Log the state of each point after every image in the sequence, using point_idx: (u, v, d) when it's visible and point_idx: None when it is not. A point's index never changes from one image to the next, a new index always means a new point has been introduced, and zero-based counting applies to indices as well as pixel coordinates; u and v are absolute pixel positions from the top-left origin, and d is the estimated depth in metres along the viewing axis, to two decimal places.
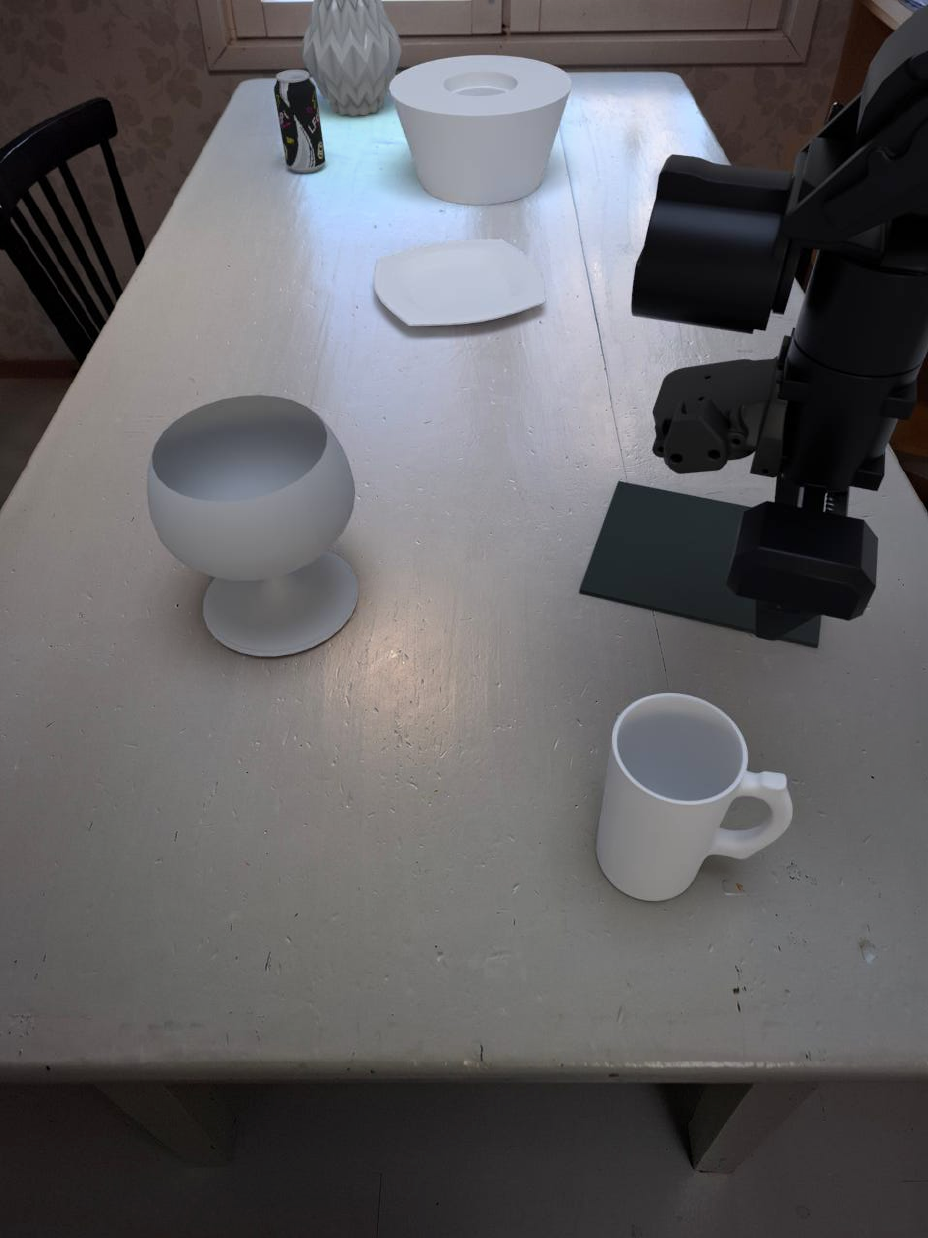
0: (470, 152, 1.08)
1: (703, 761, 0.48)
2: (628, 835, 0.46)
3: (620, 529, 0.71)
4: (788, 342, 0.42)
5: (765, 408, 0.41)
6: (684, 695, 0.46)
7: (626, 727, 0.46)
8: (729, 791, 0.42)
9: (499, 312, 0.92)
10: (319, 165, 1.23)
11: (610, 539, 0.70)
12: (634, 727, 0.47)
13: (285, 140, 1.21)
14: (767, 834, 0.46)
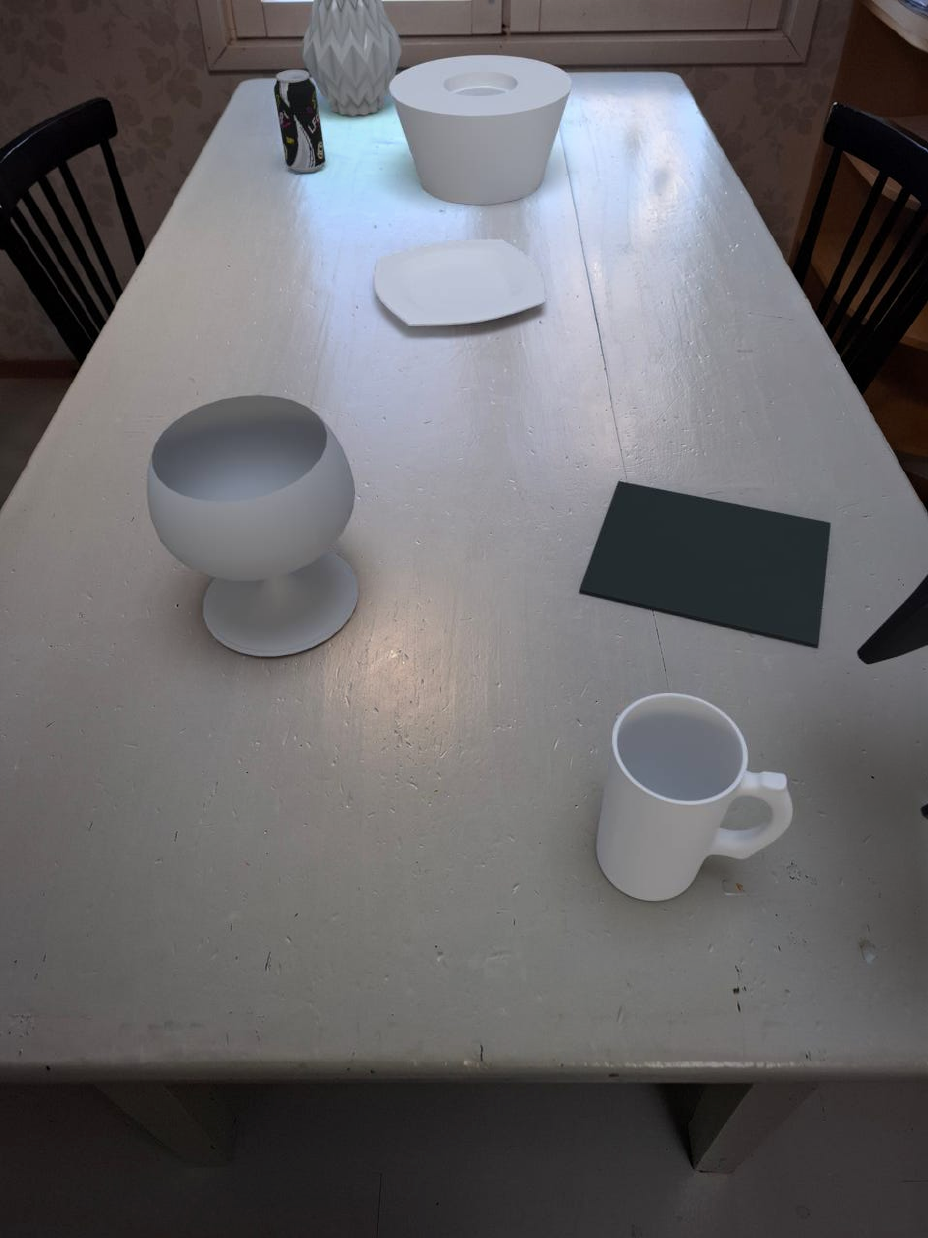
0: (470, 152, 1.08)
1: (703, 761, 0.48)
2: (628, 835, 0.46)
3: (620, 529, 0.71)
4: None
5: None
6: (684, 695, 0.46)
7: (626, 727, 0.46)
8: (729, 791, 0.42)
9: (499, 312, 0.92)
10: (319, 165, 1.23)
11: (610, 539, 0.70)
12: (634, 727, 0.47)
13: (285, 140, 1.21)
14: (767, 834, 0.46)
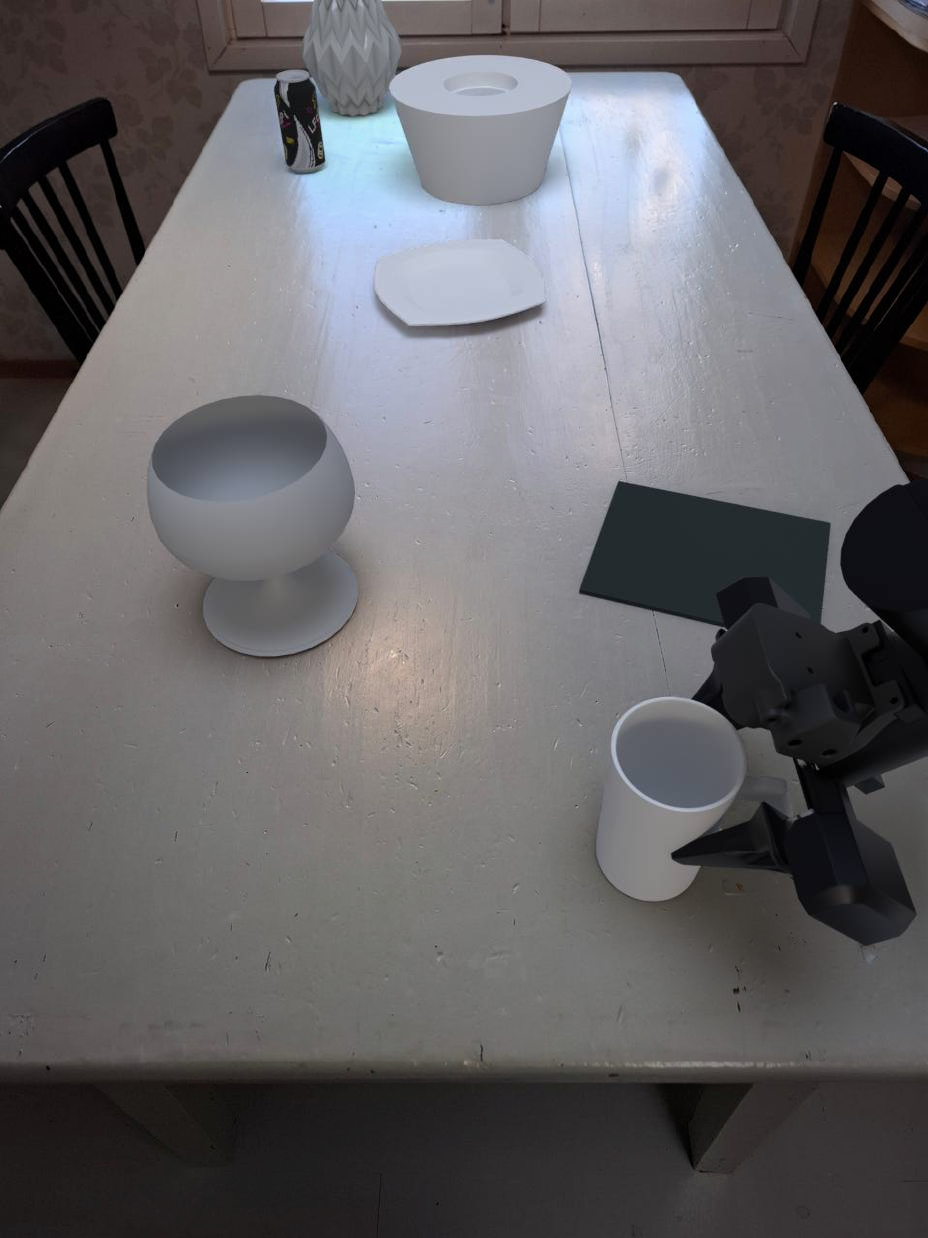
0: (470, 152, 1.08)
1: (703, 763, 0.48)
2: (627, 839, 0.46)
3: (620, 529, 0.71)
4: (879, 637, 0.39)
5: (868, 712, 0.37)
6: (684, 699, 0.45)
7: (625, 731, 0.46)
8: (729, 798, 0.41)
9: (499, 312, 0.92)
10: (319, 165, 1.23)
11: (610, 539, 0.70)
12: (633, 730, 0.46)
13: (285, 140, 1.21)
14: None
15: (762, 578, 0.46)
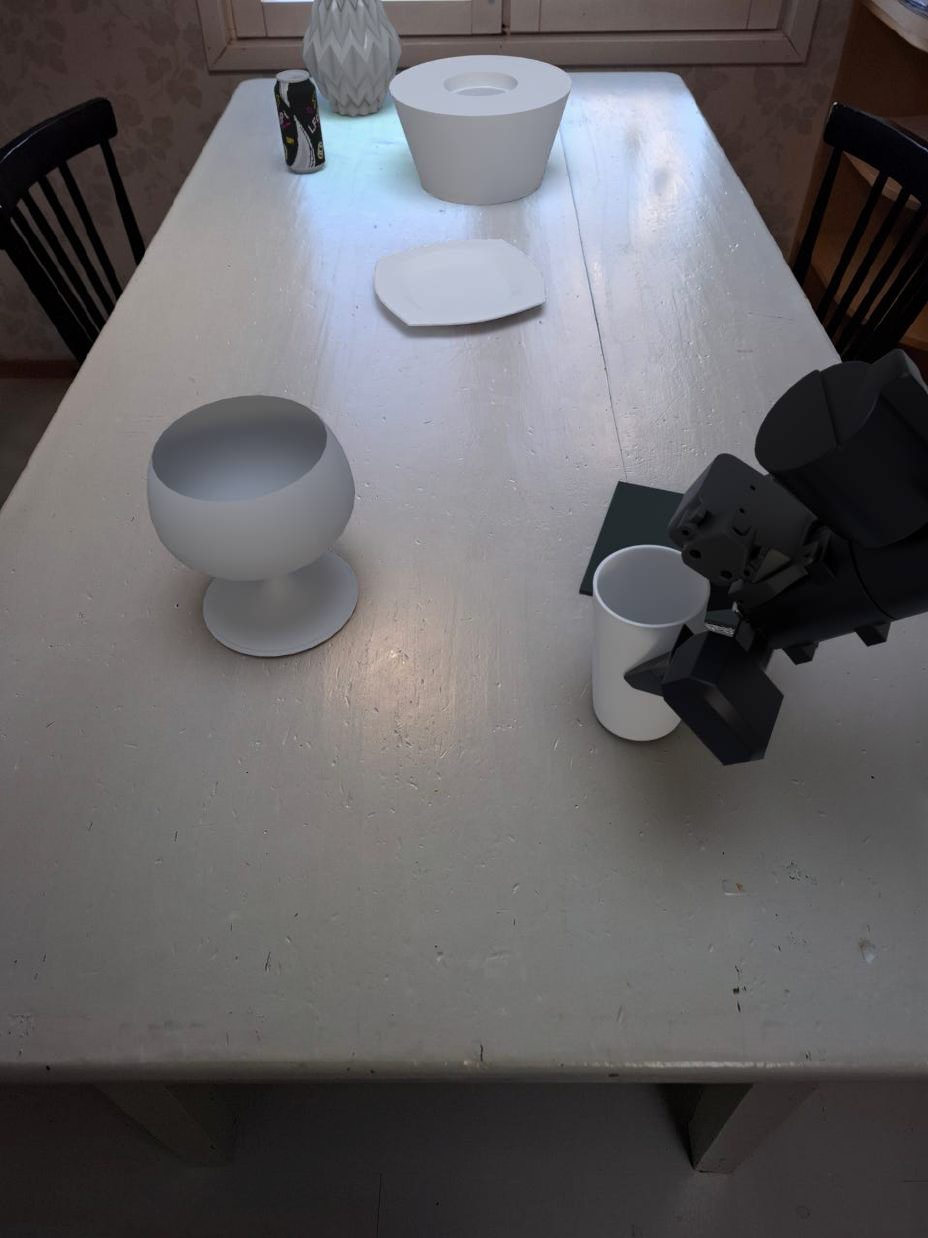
0: (470, 152, 1.08)
1: None
2: (597, 654, 0.53)
3: (620, 529, 0.71)
4: None
5: (785, 562, 0.42)
6: (680, 553, 0.52)
7: (625, 567, 0.53)
8: (669, 625, 0.48)
9: (499, 312, 0.92)
10: (319, 165, 1.23)
11: (610, 539, 0.70)
12: (636, 572, 0.54)
13: (285, 140, 1.21)
14: None
15: None
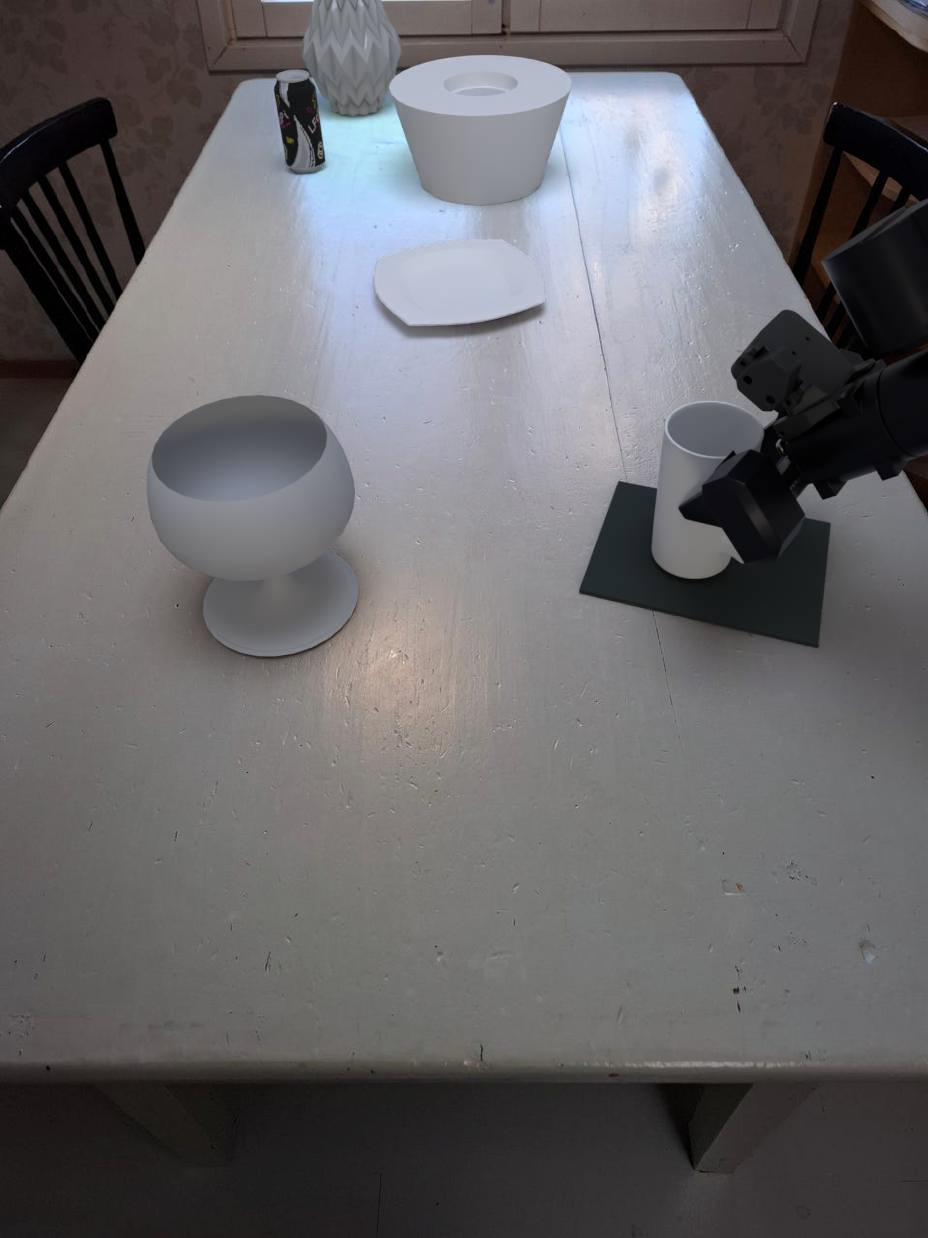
0: (470, 152, 1.08)
1: None
2: (660, 490, 0.63)
3: (620, 529, 0.71)
4: (871, 366, 0.52)
5: (822, 398, 0.51)
6: (745, 409, 0.61)
7: (696, 419, 0.63)
8: (722, 458, 0.57)
9: (499, 312, 0.92)
10: (319, 165, 1.23)
11: (610, 539, 0.70)
12: (705, 426, 0.63)
13: (285, 140, 1.21)
14: None
15: (854, 353, 0.59)
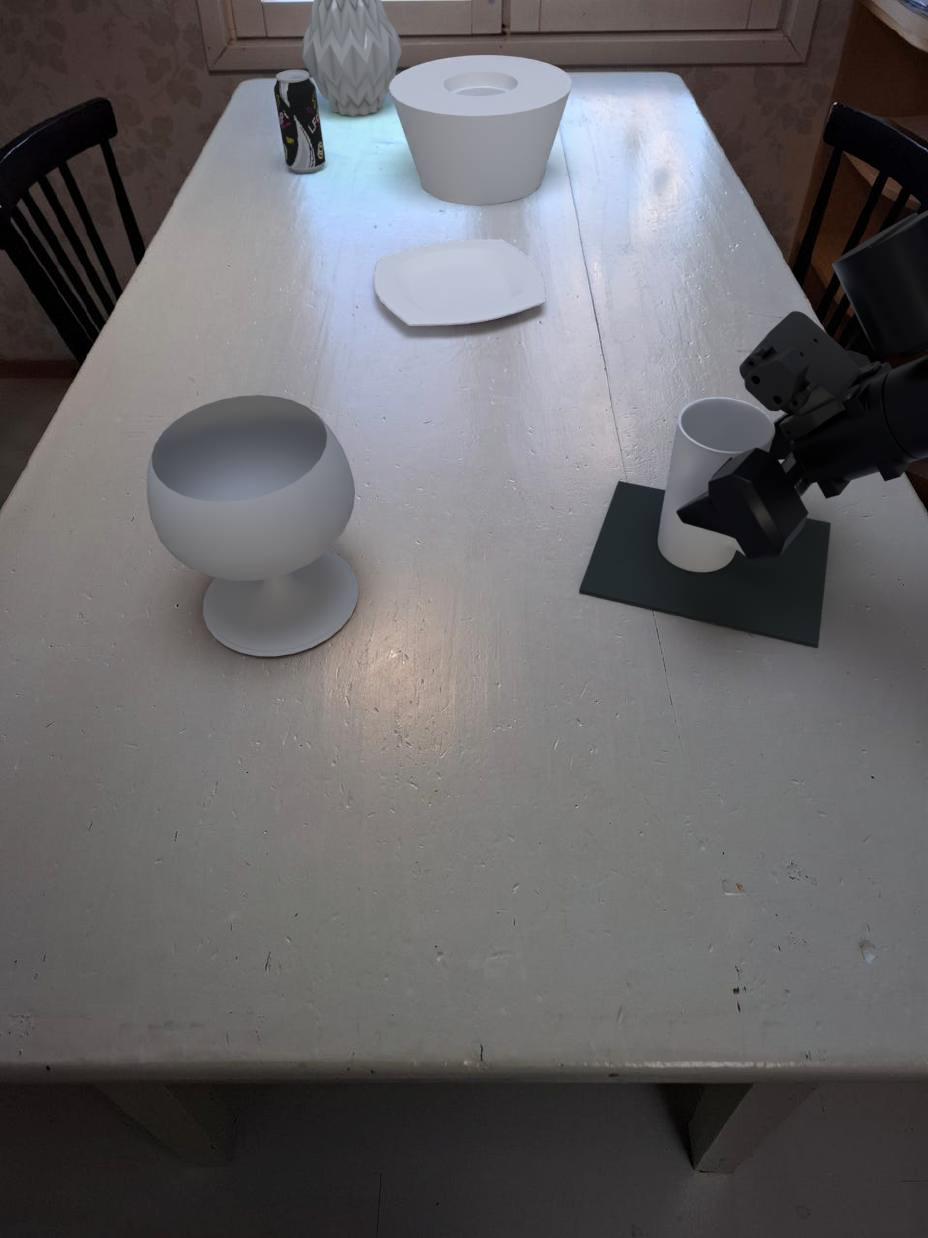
0: (470, 152, 1.08)
1: None
2: (670, 484, 0.64)
3: (620, 529, 0.71)
4: (877, 369, 0.53)
5: (828, 399, 0.52)
6: (756, 406, 0.62)
7: (707, 415, 0.64)
8: (735, 452, 0.59)
9: (499, 312, 0.92)
10: (319, 165, 1.23)
11: (610, 539, 0.70)
12: (715, 422, 0.64)
13: (285, 140, 1.21)
14: None
15: (861, 355, 0.60)
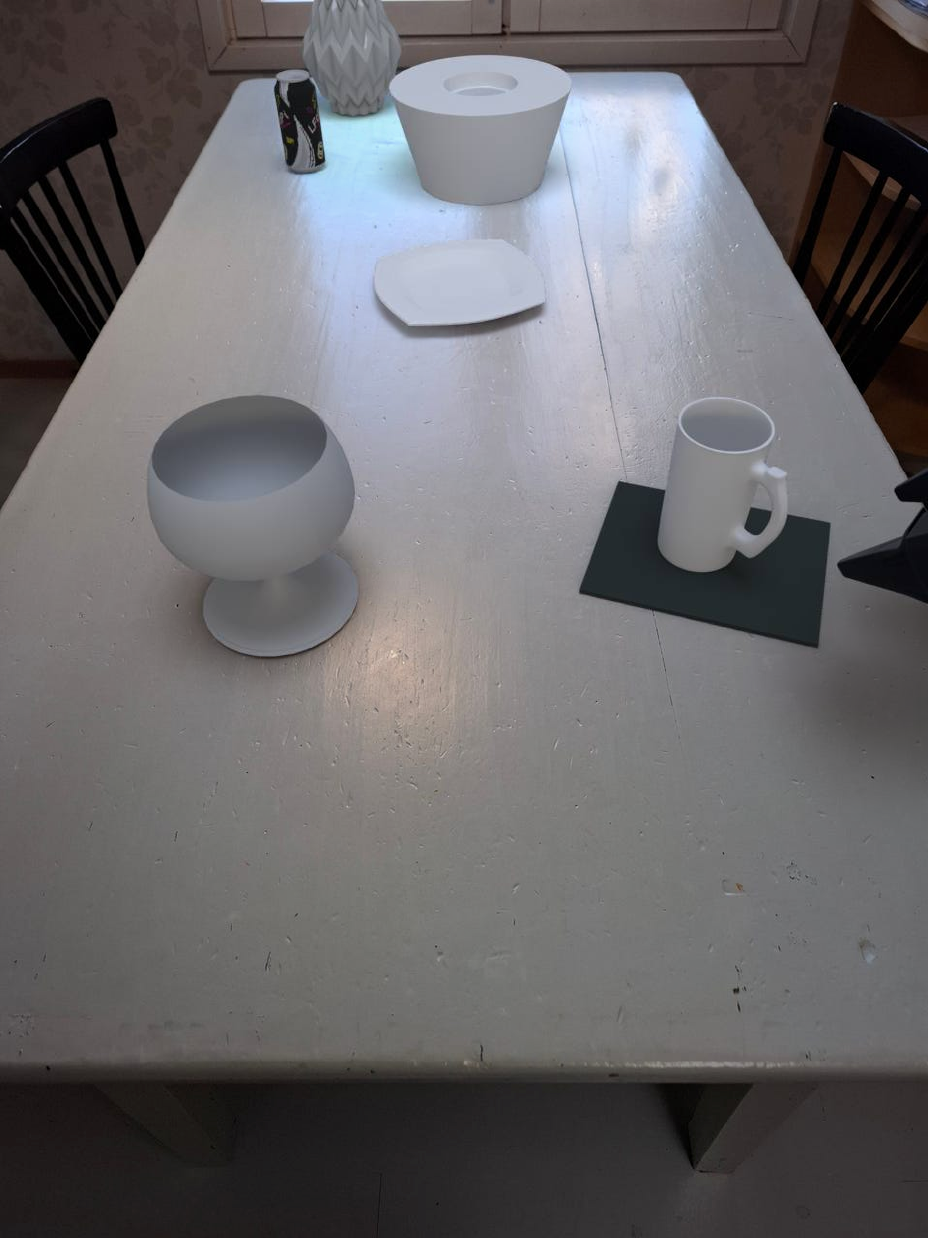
0: (470, 152, 1.08)
1: None
2: (670, 483, 0.64)
3: (620, 529, 0.71)
4: None
5: None
6: (756, 406, 0.62)
7: (707, 415, 0.64)
8: (735, 452, 0.59)
9: (499, 312, 0.92)
10: (319, 165, 1.23)
11: (610, 539, 0.70)
12: (715, 422, 0.64)
13: (285, 140, 1.21)
14: (766, 531, 0.62)
15: None
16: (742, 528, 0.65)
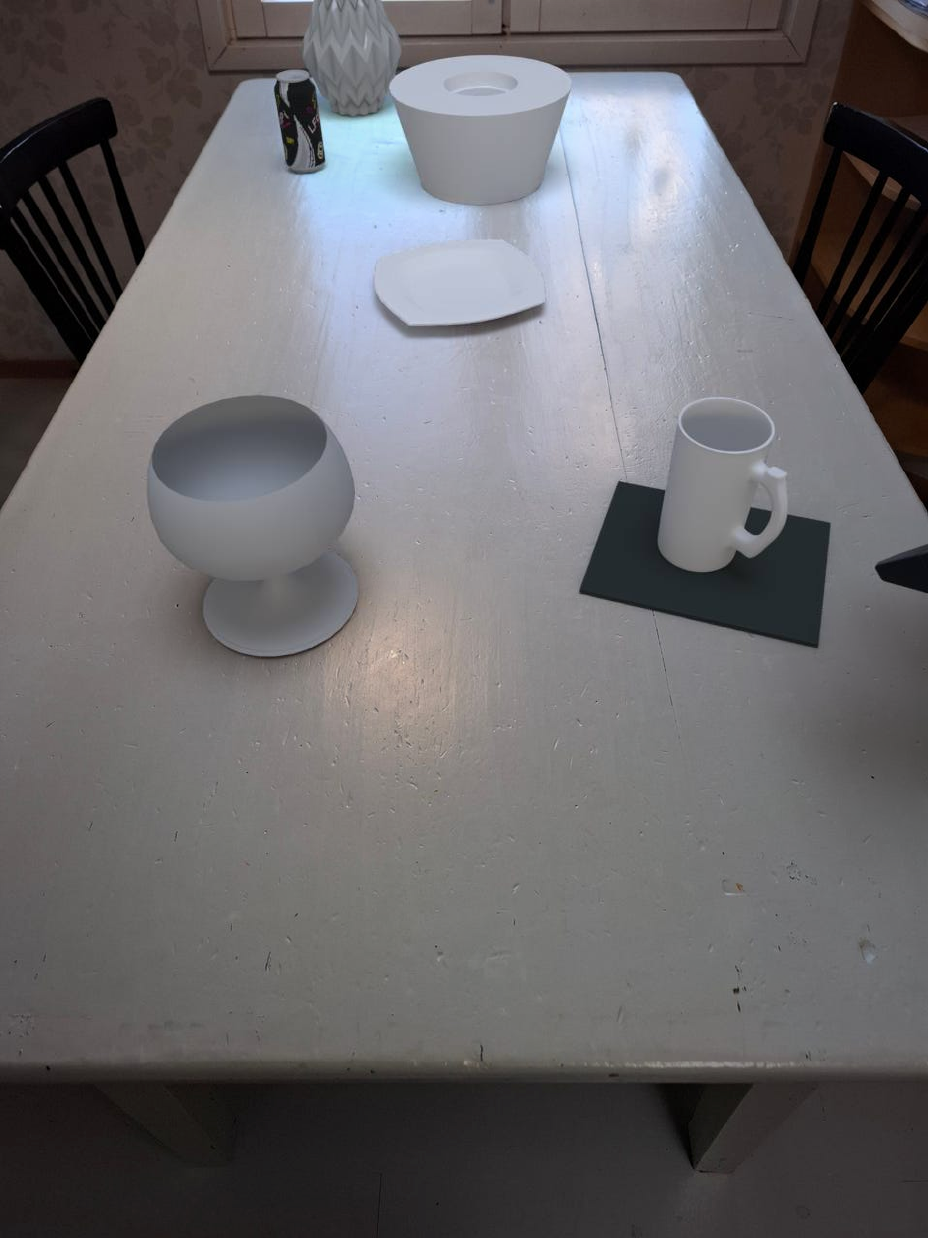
0: (470, 152, 1.08)
1: None
2: (670, 483, 0.64)
3: (620, 529, 0.71)
4: None
5: None
6: (756, 406, 0.62)
7: (707, 415, 0.64)
8: (735, 452, 0.59)
9: (499, 312, 0.92)
10: (319, 165, 1.23)
11: (610, 539, 0.70)
12: (715, 422, 0.64)
13: (285, 140, 1.21)
14: (766, 531, 0.62)
15: None
16: (742, 528, 0.65)
